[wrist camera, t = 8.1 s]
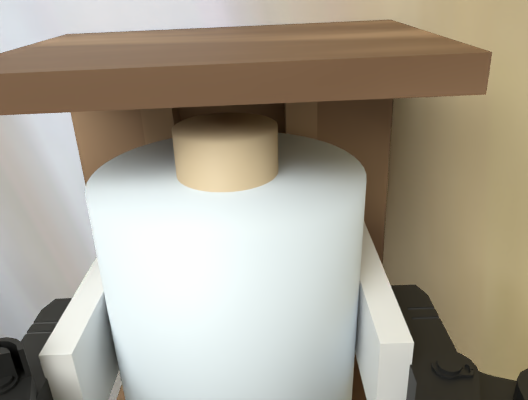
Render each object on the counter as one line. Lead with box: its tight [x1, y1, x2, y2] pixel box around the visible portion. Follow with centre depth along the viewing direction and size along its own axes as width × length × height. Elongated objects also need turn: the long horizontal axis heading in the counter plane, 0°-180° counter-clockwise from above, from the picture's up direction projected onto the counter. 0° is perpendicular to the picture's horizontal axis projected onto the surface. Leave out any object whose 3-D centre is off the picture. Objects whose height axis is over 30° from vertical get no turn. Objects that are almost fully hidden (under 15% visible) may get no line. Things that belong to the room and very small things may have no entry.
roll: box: [85, 112, 366, 400], centre depth 15 cm, size 11×7×7 cm, turn 2°
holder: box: [0, 20, 492, 400], centre depth 16 cm, size 15×11×8 cm
